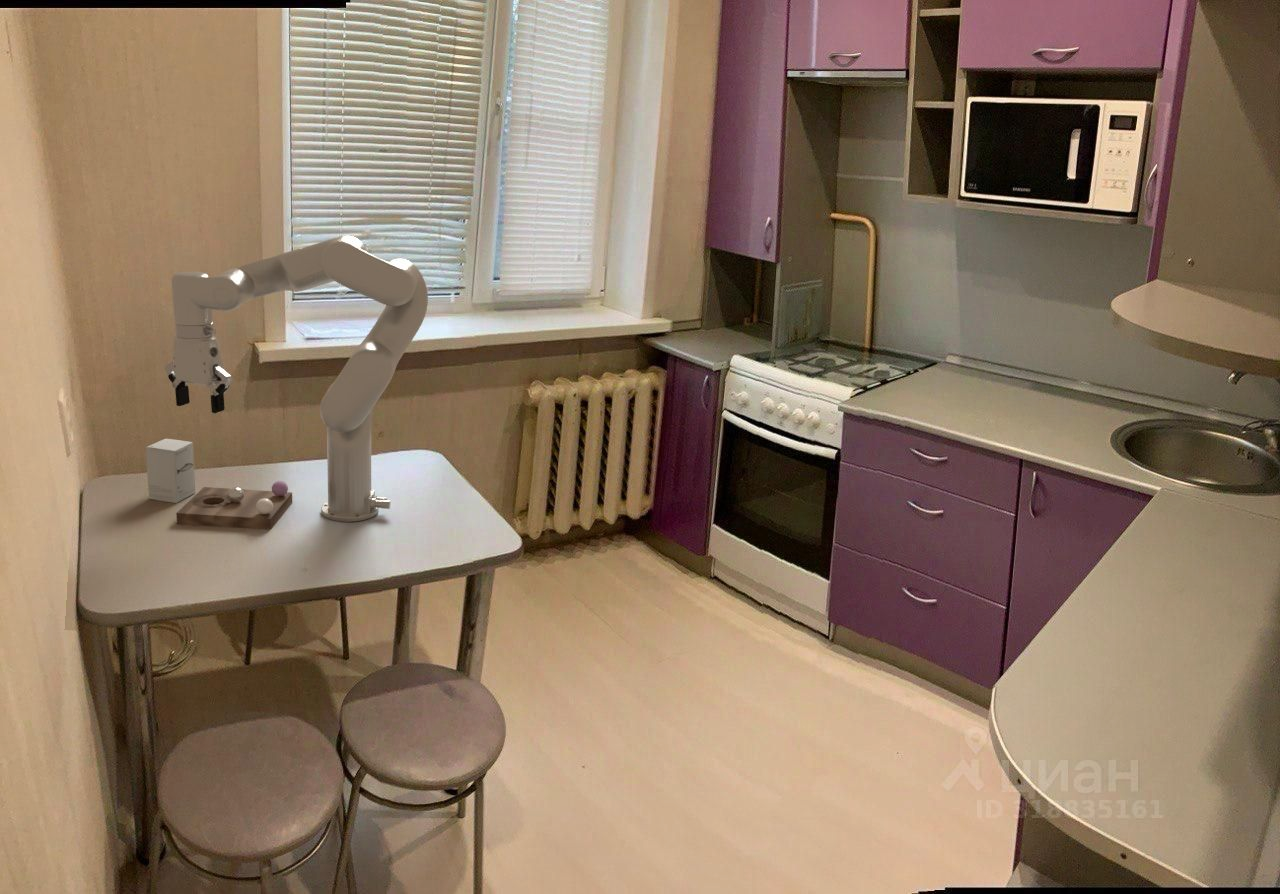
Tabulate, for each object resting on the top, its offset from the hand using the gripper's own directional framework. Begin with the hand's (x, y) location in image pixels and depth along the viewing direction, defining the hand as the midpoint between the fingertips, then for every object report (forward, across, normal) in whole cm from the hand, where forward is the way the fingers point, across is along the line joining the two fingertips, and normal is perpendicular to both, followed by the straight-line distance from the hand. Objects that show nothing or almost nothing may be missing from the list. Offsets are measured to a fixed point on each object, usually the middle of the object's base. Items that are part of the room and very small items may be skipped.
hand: (200, 408), depth 226 cm
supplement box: (+24, +12, -1) cm, 26 cm away
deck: (+24, -7, -1) cm, 25 cm away
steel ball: (+19, -7, -1) cm, 21 cm away
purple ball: (+20, -12, -9) cm, 25 cm away
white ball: (+20, -16, +1) cm, 26 cm away
